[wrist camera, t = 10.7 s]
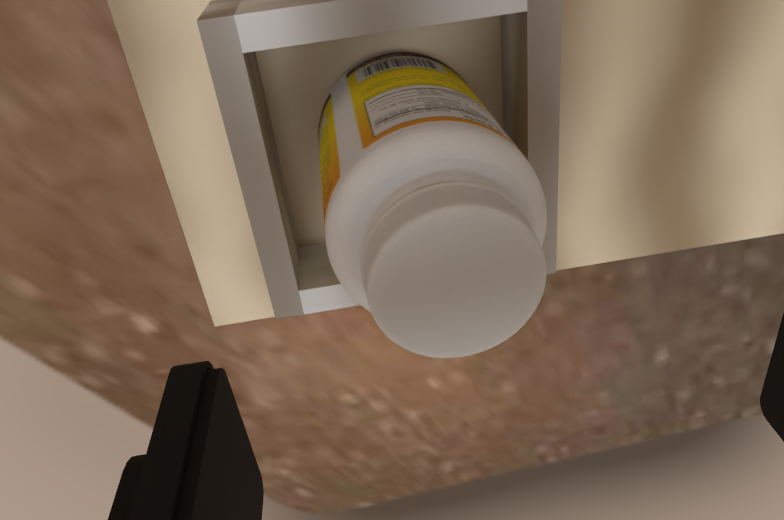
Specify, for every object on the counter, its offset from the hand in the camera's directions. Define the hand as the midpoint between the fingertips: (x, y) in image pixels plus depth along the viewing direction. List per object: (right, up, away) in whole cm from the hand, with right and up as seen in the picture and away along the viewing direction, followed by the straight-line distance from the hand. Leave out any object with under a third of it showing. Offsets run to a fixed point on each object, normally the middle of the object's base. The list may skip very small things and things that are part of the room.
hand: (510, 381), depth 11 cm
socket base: (+3, +8, +13) cm, 16 cm away
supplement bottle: (-2, +7, +12) cm, 14 cm away
